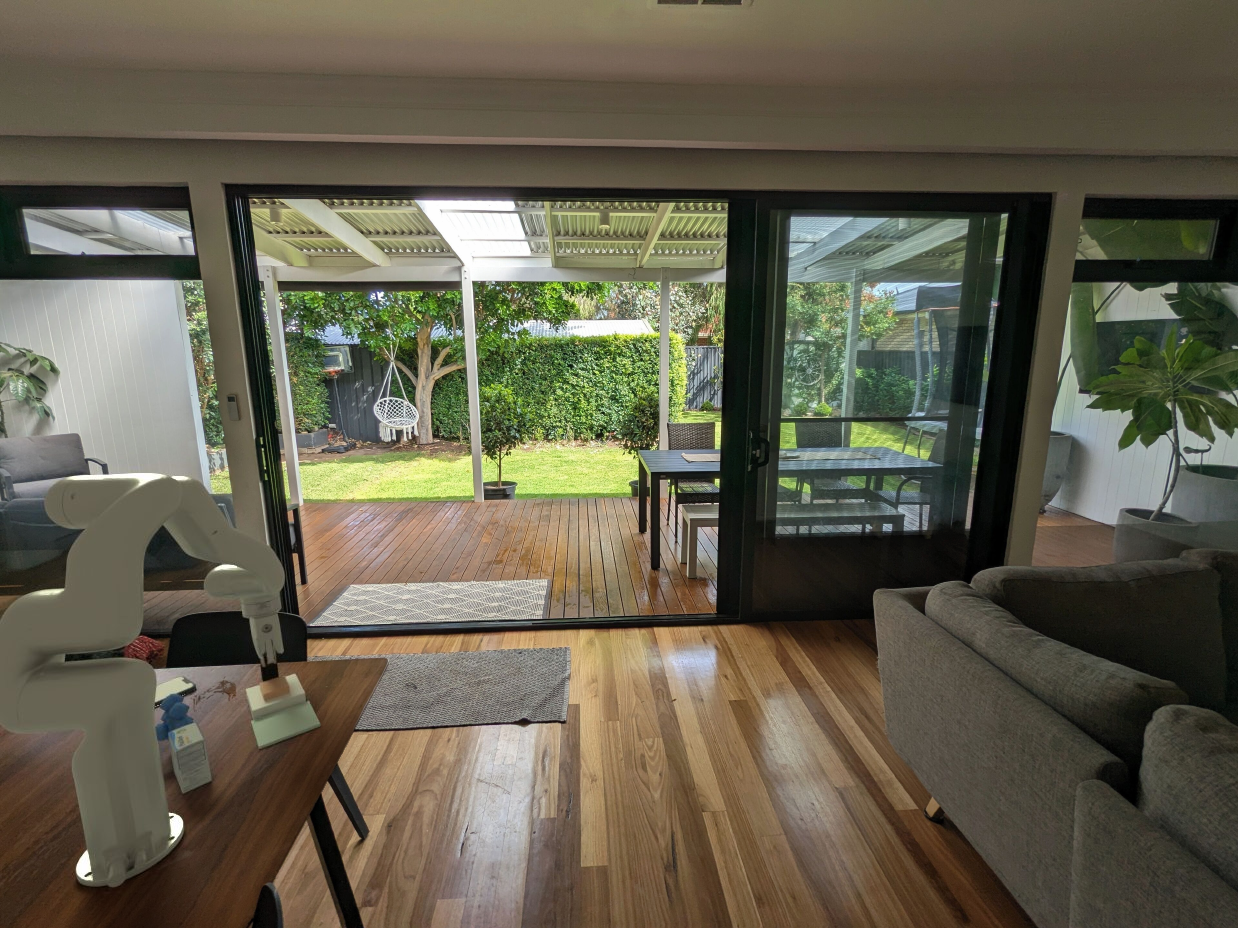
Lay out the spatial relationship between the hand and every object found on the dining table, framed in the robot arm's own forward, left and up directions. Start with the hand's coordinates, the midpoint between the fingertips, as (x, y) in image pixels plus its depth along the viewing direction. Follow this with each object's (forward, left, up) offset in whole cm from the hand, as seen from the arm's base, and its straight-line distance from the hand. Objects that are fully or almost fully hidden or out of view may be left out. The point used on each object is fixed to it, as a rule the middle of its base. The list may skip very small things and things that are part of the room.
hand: (270, 678), depth 128 cm
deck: (-6, 0, -3) cm, 6 cm away
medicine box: (-24, +16, -3) cm, 29 cm away
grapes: (-14, +18, -3) cm, 23 cm away
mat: (-17, 0, -3) cm, 17 cm away
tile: (-6, 0, 0) cm, 6 cm away
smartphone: (+14, +22, -4) cm, 27 cm away
